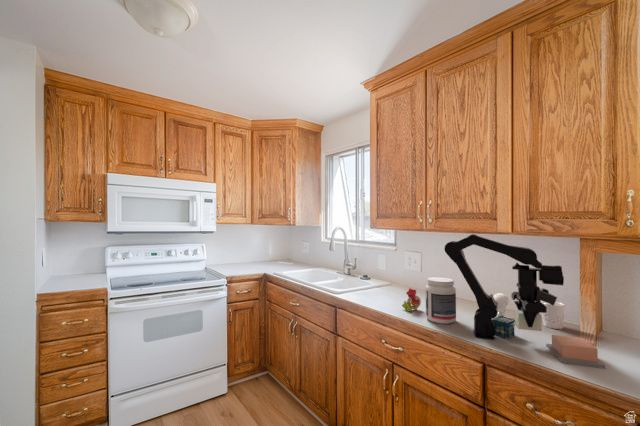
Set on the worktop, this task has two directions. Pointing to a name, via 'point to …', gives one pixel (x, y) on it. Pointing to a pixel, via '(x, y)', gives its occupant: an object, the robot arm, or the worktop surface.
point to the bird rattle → (412, 300)
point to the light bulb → (501, 303)
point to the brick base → (575, 351)
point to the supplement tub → (440, 300)
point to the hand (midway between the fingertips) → (527, 324)
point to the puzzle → (504, 327)
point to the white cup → (553, 315)
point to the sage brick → (522, 324)
